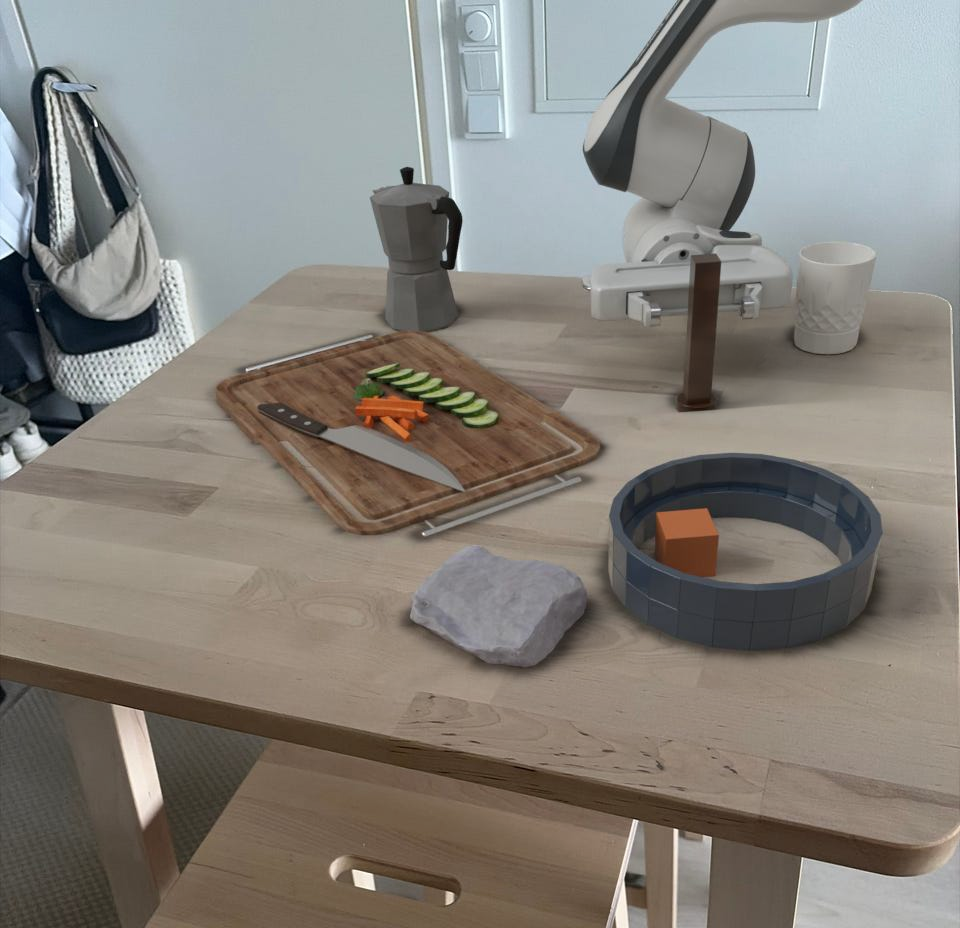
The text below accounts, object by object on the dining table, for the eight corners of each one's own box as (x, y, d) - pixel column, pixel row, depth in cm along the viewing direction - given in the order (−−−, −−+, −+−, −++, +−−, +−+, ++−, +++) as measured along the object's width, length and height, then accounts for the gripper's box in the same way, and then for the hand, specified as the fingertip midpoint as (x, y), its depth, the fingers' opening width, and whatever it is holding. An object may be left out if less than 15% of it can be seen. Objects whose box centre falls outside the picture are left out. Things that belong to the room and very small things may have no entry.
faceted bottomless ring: (825, 508, 88) (835, 444, 84) (906, 649, 72) (923, 579, 69) (595, 524, 88) (595, 461, 85) (627, 668, 73) (629, 599, 69)
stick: (711, 398, 106) (722, 249, 97) (719, 414, 103) (732, 263, 94) (673, 400, 106) (680, 252, 97) (679, 417, 103) (688, 266, 94)
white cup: (865, 357, 112) (881, 264, 106) (790, 357, 113) (802, 265, 107) (856, 330, 118) (871, 240, 112) (785, 330, 119) (796, 241, 113)
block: (703, 551, 83) (707, 507, 80) (715, 578, 80) (719, 534, 77) (654, 555, 83) (656, 512, 80) (663, 583, 80) (665, 539, 77)
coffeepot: (360, 319, 131) (339, 168, 120) (417, 298, 136) (402, 151, 125) (439, 348, 122) (424, 187, 111) (497, 324, 127) (488, 168, 116)
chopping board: (631, 471, 95) (631, 441, 93) (369, 565, 85) (364, 534, 84) (411, 331, 127) (408, 306, 125) (202, 388, 117) (196, 362, 115)
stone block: (537, 702, 73) (598, 606, 78) (526, 657, 70) (590, 560, 75) (401, 660, 79) (466, 573, 84) (384, 616, 75) (453, 528, 80)
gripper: (579, 246, 108) (594, 290, 97) (774, 231, 108) (811, 274, 97) (579, 305, 112) (594, 354, 101) (767, 291, 112) (803, 339, 101)
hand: (702, 315), depth 99 cm, fingers open, 8 cm apart
